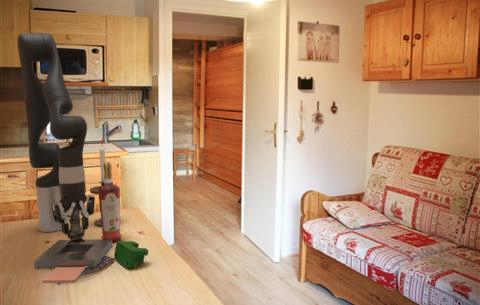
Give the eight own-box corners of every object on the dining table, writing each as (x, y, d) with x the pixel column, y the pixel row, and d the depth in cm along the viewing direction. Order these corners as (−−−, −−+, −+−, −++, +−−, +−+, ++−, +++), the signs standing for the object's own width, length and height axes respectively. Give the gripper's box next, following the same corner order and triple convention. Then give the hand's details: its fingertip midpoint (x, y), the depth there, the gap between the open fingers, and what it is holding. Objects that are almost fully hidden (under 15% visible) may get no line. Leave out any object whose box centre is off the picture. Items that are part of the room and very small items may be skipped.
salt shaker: (89, 242, 136) (86, 205, 134) (70, 246, 132) (67, 209, 130) (82, 237, 140) (80, 202, 138) (64, 241, 136) (61, 205, 135)
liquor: (120, 235, 156) (116, 160, 152) (124, 241, 149) (120, 163, 145) (99, 238, 153) (95, 162, 149) (102, 245, 146) (97, 165, 142)
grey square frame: (59, 246, 145) (59, 239, 145) (112, 246, 145) (112, 239, 145) (34, 268, 127) (34, 260, 127) (95, 267, 127) (94, 260, 127)
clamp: (141, 278, 130) (152, 254, 128) (123, 279, 127) (133, 254, 124) (129, 252, 139) (139, 230, 136) (112, 252, 135) (121, 229, 133)
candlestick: (122, 219, 177) (118, 135, 172) (116, 227, 166) (112, 138, 161) (96, 219, 176) (91, 135, 171) (88, 228, 165) (82, 138, 160)
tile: (55, 269, 127) (55, 267, 127) (86, 268, 127) (86, 266, 127) (42, 282, 118) (42, 280, 118) (74, 282, 118) (74, 280, 118)
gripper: (85, 174, 141) (88, 223, 143) (43, 182, 130) (47, 235, 132) (99, 177, 136) (102, 227, 139) (56, 185, 125) (60, 240, 128)
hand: (75, 231), depth 135 cm, fingers closed on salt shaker, 6 cm apart
